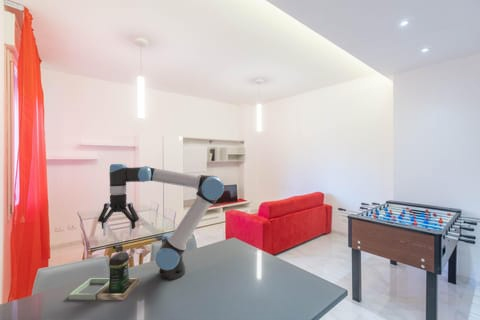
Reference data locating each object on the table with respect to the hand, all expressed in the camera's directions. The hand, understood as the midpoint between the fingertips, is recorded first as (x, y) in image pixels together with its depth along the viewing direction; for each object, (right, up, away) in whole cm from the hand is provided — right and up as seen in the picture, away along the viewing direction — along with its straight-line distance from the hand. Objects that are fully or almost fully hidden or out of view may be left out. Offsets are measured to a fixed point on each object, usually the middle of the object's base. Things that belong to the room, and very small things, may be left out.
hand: (118, 235), depth 115 cm
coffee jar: (0, -29, 0) cm, 29 cm away
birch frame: (0, -29, 0) cm, 29 cm away
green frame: (-14, -29, 0) cm, 32 cm away
